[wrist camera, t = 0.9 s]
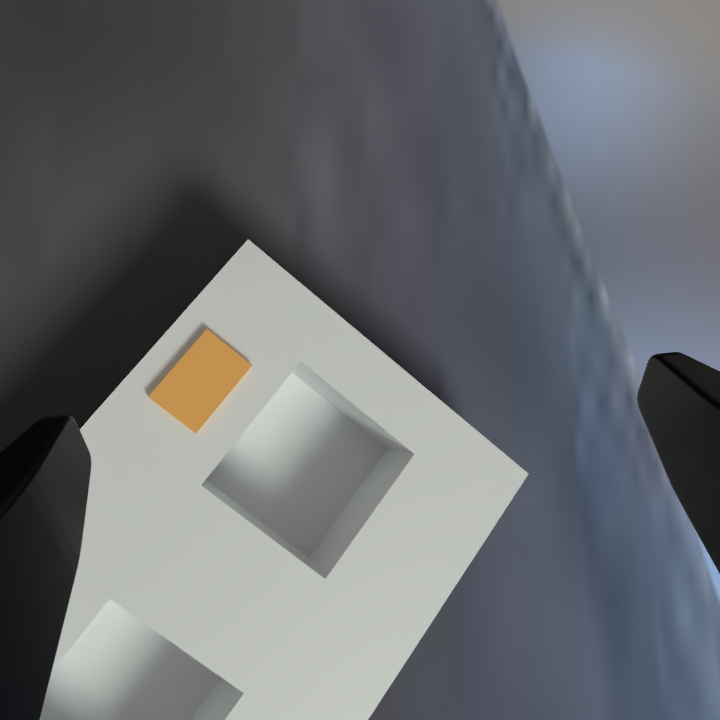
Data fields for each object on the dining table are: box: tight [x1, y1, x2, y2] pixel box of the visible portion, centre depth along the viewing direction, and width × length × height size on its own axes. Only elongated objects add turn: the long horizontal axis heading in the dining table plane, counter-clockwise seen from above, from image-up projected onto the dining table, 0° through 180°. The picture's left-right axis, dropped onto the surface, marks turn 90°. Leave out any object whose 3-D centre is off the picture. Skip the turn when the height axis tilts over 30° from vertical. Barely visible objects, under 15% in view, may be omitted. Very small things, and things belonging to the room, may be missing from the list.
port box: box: [40, 239, 528, 720], centre depth 22 cm, size 20×14×5 cm
